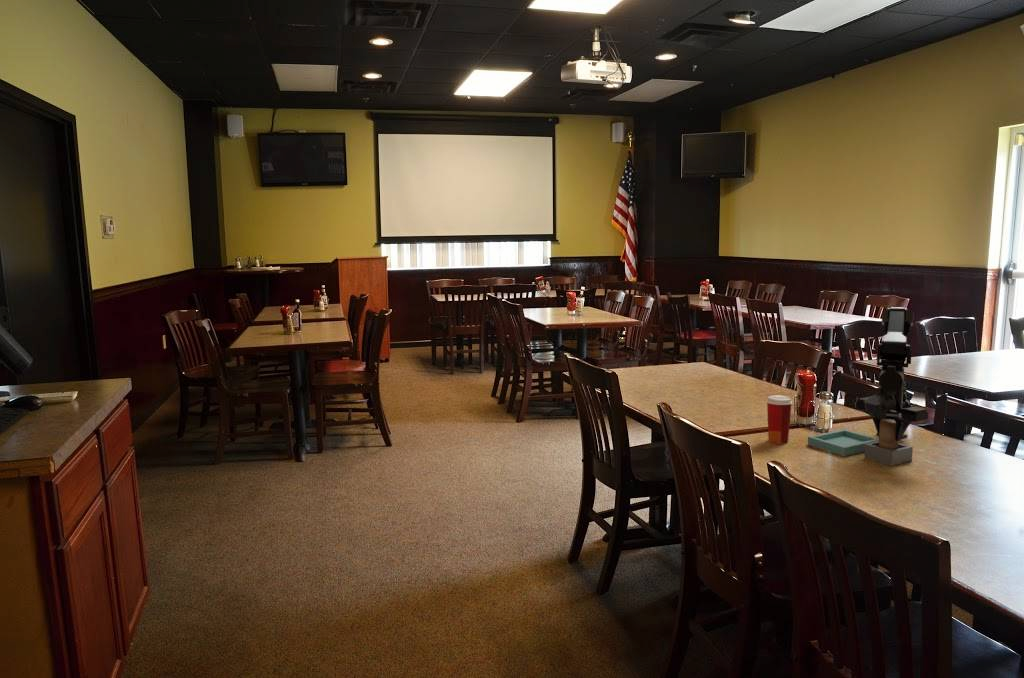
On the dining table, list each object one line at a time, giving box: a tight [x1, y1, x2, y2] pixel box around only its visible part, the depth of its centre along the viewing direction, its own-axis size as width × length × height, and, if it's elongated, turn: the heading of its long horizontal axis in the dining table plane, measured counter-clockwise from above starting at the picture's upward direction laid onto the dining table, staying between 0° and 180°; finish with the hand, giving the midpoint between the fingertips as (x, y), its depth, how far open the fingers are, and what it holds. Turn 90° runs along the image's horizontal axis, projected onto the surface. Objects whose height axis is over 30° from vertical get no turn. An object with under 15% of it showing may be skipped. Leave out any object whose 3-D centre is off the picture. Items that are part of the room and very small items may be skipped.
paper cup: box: [765, 394, 794, 445], centre depth 221 cm, size 8×8×14 cm
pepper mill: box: [878, 419, 900, 450], centre depth 202 cm, size 5×5×11 cm
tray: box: [807, 429, 879, 457], centre depth 216 cm, size 16×13×2 cm
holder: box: [863, 441, 914, 467], centre depth 203 cm, size 9×9×4 cm
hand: (888, 438), depth 202 cm, fingers closed on pepper mill, 5 cm apart
